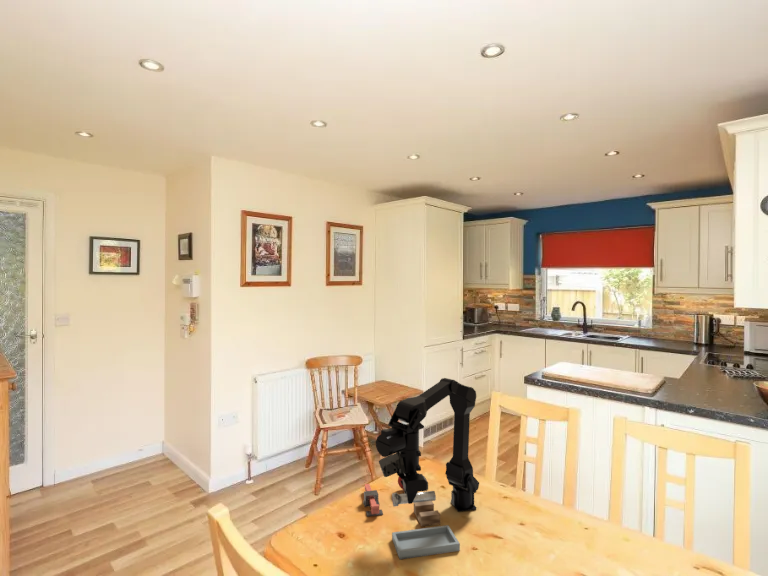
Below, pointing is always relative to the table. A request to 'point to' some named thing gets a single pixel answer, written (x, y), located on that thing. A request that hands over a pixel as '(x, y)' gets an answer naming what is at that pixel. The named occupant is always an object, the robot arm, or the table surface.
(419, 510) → the channel block
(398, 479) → the onion
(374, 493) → the keeper guide
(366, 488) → the keeper bar
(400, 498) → the pin
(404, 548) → the tray
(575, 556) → the table surface
